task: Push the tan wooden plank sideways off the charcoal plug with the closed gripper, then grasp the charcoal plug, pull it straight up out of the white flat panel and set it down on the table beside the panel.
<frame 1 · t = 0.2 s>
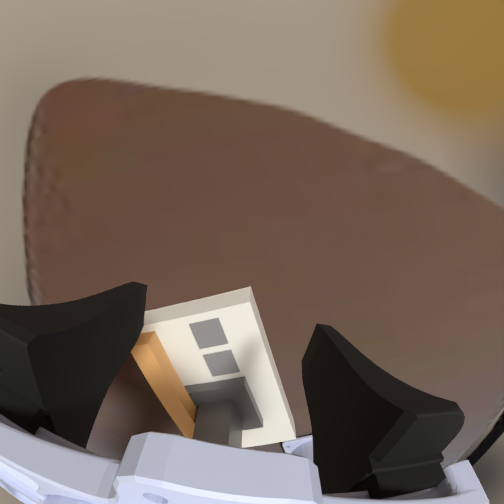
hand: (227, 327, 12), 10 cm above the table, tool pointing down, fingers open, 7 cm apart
tan wooden plank: (185, 408, 21), point 4 cm above the table, hinge at 0.0°
white flat panel: (221, 377, 24), on the table
plug: (224, 386, 25), resting in white flat panel
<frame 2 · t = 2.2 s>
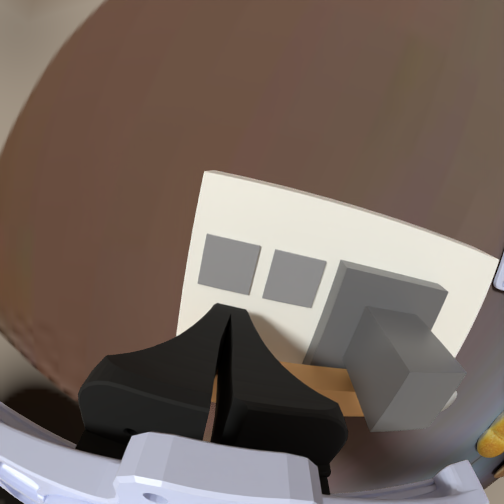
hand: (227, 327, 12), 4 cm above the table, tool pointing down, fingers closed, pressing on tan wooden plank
tan wooden plank: (330, 384, 12), point 4 cm above the table, hinge at 1.3°, touching gripper
bread roll: (501, 420, 21), on the table
white flat panel: (342, 300, 15), on the table
plug: (359, 304, 15), resting in white flat panel
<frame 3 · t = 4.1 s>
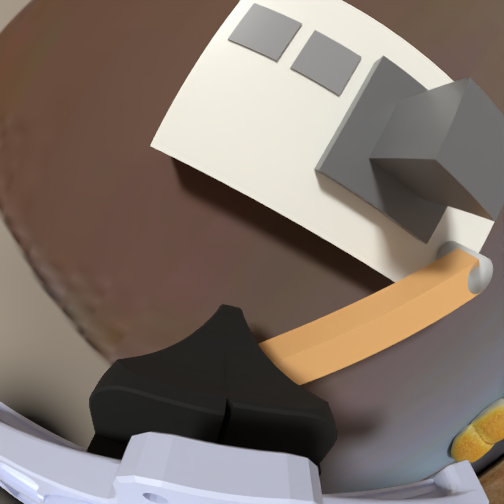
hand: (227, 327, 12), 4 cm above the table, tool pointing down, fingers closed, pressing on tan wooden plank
tan wooden plank: (335, 333, 11), point 4 cm above the table, hinge at 54.6°, touching gripper
bread roll: (480, 422, 20), on the table
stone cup: (480, 474, 26), on the table
white flat panel: (362, 139, 13), on the table
plug: (380, 151, 13), resting in white flat panel
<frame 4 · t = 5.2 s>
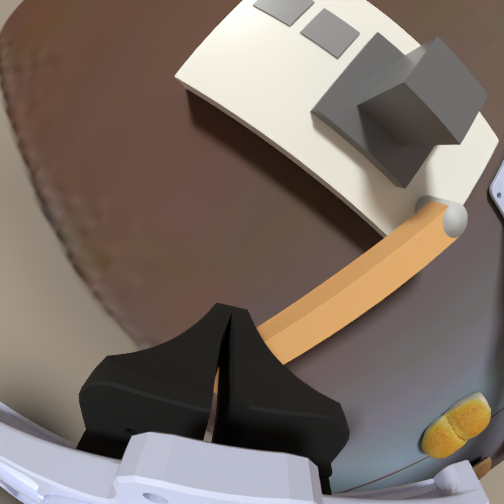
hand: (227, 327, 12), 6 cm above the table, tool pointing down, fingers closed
tan wooden plank: (335, 296, 13), point 4 cm above the table, hinge at 73.8°
bread roll: (453, 417, 23), on the table
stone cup: (447, 482, 29), on the table
white flat panel: (355, 103, 14), on the table
plug: (369, 114, 14), resting in white flat panel
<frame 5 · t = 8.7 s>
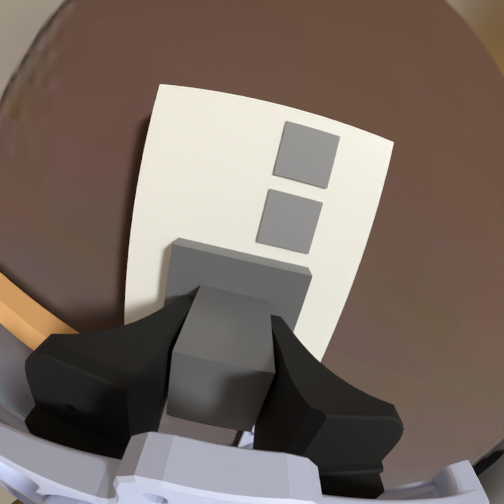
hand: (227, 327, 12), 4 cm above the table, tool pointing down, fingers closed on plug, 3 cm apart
tan wooden plank: (50, 330, 12), point 4 cm above the table, hinge at 73.8°
white flat panel: (237, 270, 15), on the table
plug: (233, 289, 15), resting in white flat panel, touching gripper
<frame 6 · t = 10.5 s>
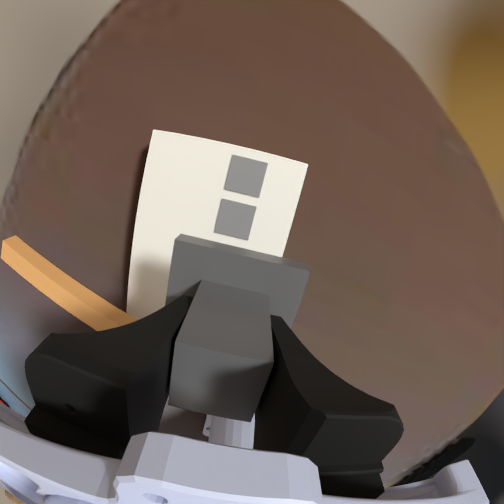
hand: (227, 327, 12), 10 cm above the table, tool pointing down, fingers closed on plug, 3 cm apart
tan wooden plank: (75, 293, 19), point 4 cm above the table, hinge at 73.8°
white flat panel: (206, 253, 22), on the table
plug: (233, 285, 16), point 6 cm above the table, touching gripper
when the fingers open (5 cm above the table, at t = 12.4 s): plug stays where it is, on the table.
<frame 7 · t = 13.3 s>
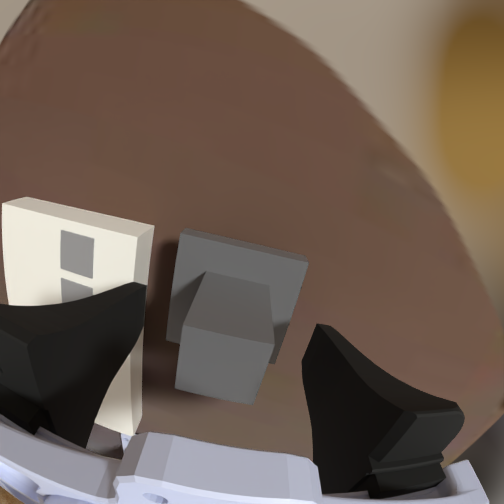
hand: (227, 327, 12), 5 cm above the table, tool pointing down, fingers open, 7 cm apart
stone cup: (29, 479, 32), on the table
white flat panel: (79, 321, 18), on the table
plug: (235, 278, 16), on the table
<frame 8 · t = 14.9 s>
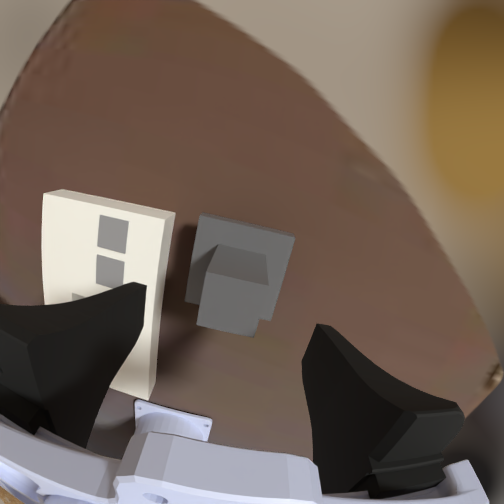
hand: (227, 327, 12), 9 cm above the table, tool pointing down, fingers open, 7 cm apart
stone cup: (36, 466, 36), on the table
white flat panel: (105, 295, 22), on the table
plug: (239, 254, 21), on the table
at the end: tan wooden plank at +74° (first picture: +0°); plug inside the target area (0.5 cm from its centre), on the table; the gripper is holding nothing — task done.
